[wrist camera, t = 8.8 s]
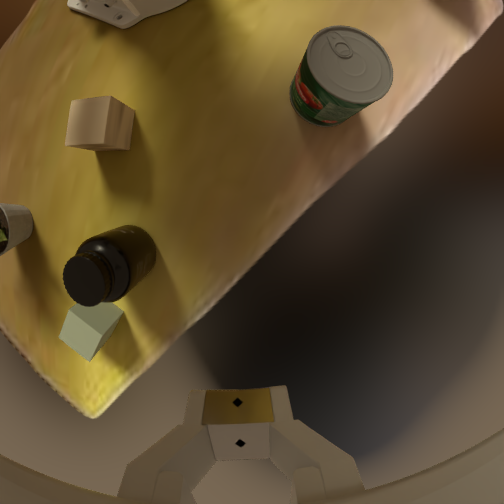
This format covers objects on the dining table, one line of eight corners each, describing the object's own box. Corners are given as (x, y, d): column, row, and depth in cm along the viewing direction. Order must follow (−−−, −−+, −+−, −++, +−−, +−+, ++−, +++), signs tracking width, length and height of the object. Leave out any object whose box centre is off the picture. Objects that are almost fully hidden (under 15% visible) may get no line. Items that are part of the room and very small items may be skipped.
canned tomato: (364, 112, 31) (408, 88, 20) (311, 138, 31) (340, 117, 21) (331, 59, 29) (361, 17, 18) (276, 81, 30) (288, 39, 19)
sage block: (83, 315, 36) (58, 337, 29) (95, 289, 35) (69, 309, 28) (110, 336, 37) (89, 361, 30) (123, 311, 36) (102, 335, 29)
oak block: (95, 150, 31) (64, 145, 24) (100, 112, 30) (71, 100, 23) (129, 150, 31) (103, 143, 24) (134, 110, 30) (110, 95, 23)
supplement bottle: (134, 212, 33) (83, 227, 21) (168, 257, 34) (132, 291, 22) (98, 246, 34) (43, 273, 22) (130, 288, 35) (87, 330, 23)
